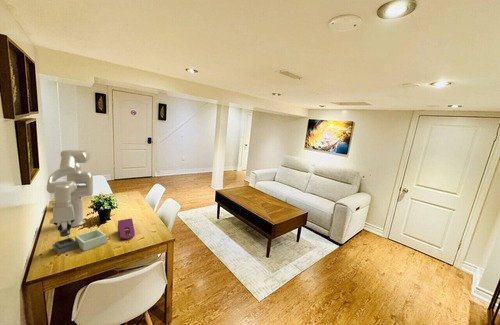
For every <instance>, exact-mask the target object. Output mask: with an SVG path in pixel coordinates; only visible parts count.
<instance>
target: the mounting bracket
mask: <svg viewBox="0 0 500 325" xmlns="http://www.w3.org/2000/svg"><path fill="white" fill-rule="evenodd" d="M126 230H128V232H129V235H128V236H127V235H126V232H125V231H126ZM117 234H119V237H120V239H121V240H123V241H128V240H132V239H133V238H134V237H135V226H134V222H133V218H126V219H121V220H117Z"/></svg>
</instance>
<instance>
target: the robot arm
mask: <svg viewBox="0 0 500 325" xmlns="http://www.w3.org/2000/svg"><path fill="white" fill-rule="evenodd" d="M60 157H61V159H60V164H59V168H58V169H57V170H55V171H53V172H52V173H51V174H50V175H49V176H48V179H47V184H46V191H47V193H49V194H54V202H53V203H52V202H51V206H53V209H52V218H51V219H50V221H49V224H52V225H54V226H56V227H57V231H59V233H60V232H61V222H66V221H68V230H71V229H72V227H74V228H75V227H78V226H82V225H84V224H85V223H86V220H85V219H84V215H83V214H84V213H83V201H82V199H79V198H78V197H81V198H85V197H86V198H87V197H91V196H93V193H94V183H93V182H94V180H93V174H92V172H91V171H82V166H81V164H85V163H87V162H89V160H90V159H91V153H90V152H89V150H80V149H79V150H77V149H76V150H73V149H70V150H69V149H67V150H66V149H65V150H62V151H60ZM63 177H66V181H65V180H63V181H57V180H58V179H60V178H63ZM79 184H80V185H79ZM81 184H82V185H81Z"/></svg>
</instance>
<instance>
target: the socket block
mask: <svg viewBox="0 0 500 325" xmlns="http://www.w3.org/2000/svg"><path fill="white" fill-rule="evenodd" d="M51 246H52V248H51V249H52V250H53V251H54V252H55V253H56V254H57V255H61V254H64V253H67V252H70V251H72V250H75V249H79V247H78V243H77V242H76V241H75V239H74V238H72V237H71V236H70V237H68V238H64V239H61V240H58V241H55V242H54V243H52V245H51Z"/></svg>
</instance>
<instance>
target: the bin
mask: <svg viewBox="0 0 500 325" xmlns="http://www.w3.org/2000/svg"><path fill="white" fill-rule="evenodd" d="M107 239H108V238H107V234H106V233H104V232H102V231H101V230H100V229H98V228H97V229H93V230H90V231H87V232H84V233H80V234H78V235H75V236H74V240H75V241H76V242H77V243H78V249H81V250H82V251H83V252H86V251H88V250H92V249H94V248H97V247H99V246H102V245H105V244H107V243H108V242H107V241H108V240H107Z"/></svg>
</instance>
